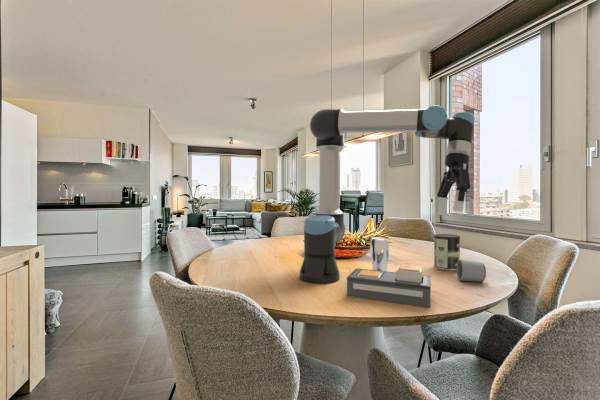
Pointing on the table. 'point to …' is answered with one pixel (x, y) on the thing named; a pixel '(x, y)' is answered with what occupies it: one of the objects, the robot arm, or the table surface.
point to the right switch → (409, 273)
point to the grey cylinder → (471, 271)
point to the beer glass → (379, 253)
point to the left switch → (370, 274)
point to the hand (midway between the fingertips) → (448, 213)
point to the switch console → (389, 289)
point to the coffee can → (446, 251)
